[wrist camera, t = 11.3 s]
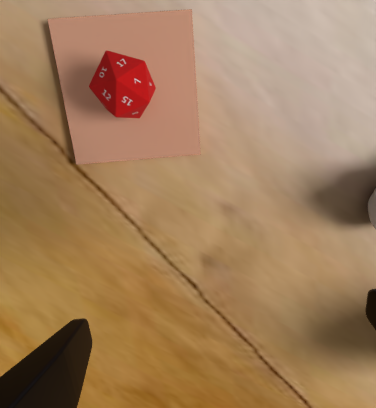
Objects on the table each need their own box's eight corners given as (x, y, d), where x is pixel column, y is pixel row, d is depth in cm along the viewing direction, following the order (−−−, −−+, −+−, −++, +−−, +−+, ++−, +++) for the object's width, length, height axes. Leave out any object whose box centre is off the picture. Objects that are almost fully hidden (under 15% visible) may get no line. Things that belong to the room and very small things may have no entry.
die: (164, 109, 17) (161, 100, 13) (119, 129, 17) (102, 126, 13) (142, 54, 16) (131, 27, 12) (94, 76, 16) (68, 56, 12)
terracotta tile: (79, 163, 18) (76, 164, 17) (52, 23, 16) (47, 19, 15) (199, 153, 18) (200, 154, 18) (191, 14, 16) (191, 9, 15)
